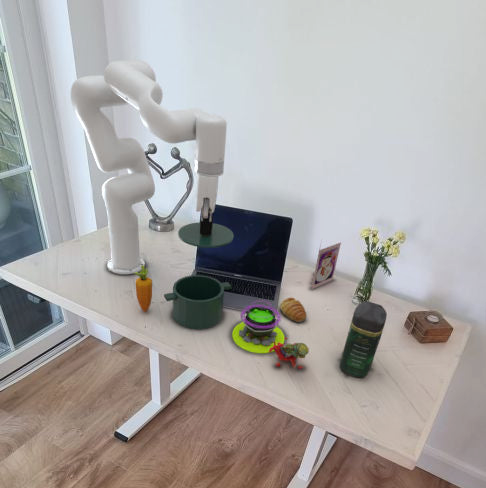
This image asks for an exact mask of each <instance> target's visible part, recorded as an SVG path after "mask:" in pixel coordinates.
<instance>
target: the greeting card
mask: <svg viewBox="0 0 486 488" xmlns="http://www.w3.org/2000/svg"><path fill="white" fill-rule="evenodd" d="M322 240H323V239H321V240H320V243H322ZM341 245H342V242H341V241H340V242H338V243H335V244H331V245H330V246H327V247H324V248H321V246H322V244H320V245H319V249H318V253H317V259H316V263H315V270H314V273H313V279H312V285H311V290H313V289H316V288H318V287H320V286H323V285H324V284H327V283H329V282H333V279H334V275H335V271H336V266H337V262H338V259H339V258H338V257H339V254H340V249H341Z"/></svg>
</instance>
